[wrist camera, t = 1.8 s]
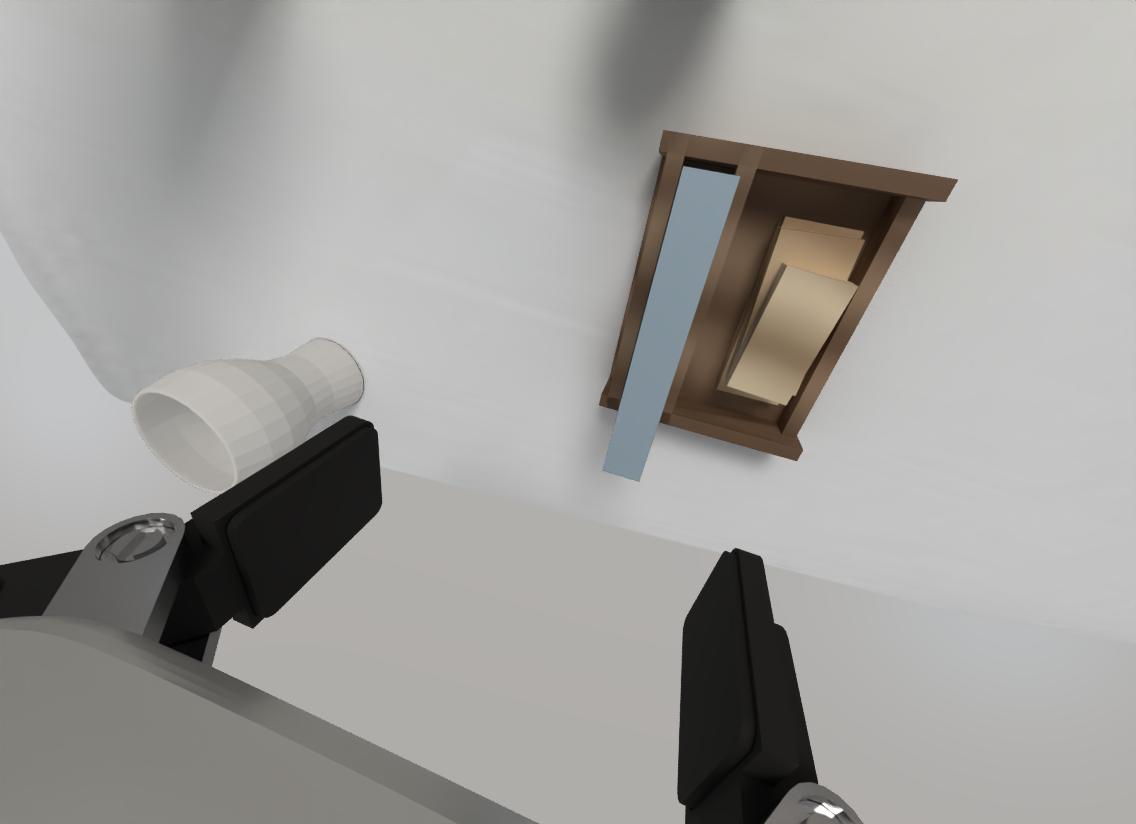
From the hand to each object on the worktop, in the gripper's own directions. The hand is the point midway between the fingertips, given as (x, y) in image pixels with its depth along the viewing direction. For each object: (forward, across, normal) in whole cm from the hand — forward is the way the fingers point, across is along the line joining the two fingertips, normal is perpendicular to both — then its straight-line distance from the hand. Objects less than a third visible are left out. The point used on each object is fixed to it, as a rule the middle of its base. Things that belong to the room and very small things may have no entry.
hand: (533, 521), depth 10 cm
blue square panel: (+24, -2, -2) cm, 24 cm away
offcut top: (+21, -9, -2) cm, 23 cm away
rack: (+25, -6, -2) cm, 26 cm away
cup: (+25, +30, +16) cm, 42 cm away
